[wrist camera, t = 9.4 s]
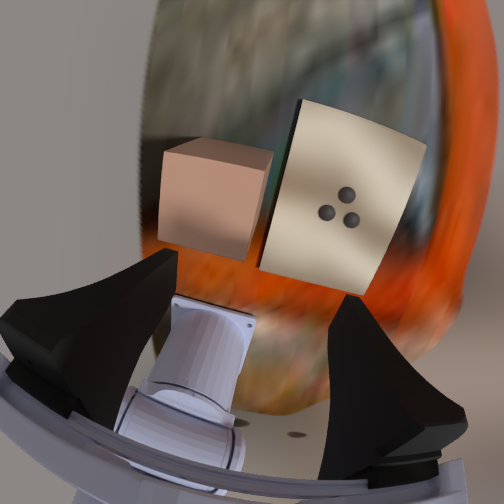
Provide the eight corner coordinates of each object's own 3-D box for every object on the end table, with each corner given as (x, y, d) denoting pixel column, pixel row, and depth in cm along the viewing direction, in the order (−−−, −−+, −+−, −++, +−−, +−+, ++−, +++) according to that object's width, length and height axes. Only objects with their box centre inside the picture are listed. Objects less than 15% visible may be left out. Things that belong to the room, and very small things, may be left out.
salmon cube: (258, 218, 20) (244, 262, 15) (192, 202, 20) (157, 239, 15) (274, 151, 17) (264, 171, 12) (202, 136, 17) (164, 151, 12)
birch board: (362, 293, 22) (363, 296, 21) (259, 267, 22) (258, 270, 22) (425, 144, 15) (427, 145, 15) (302, 99, 15) (302, 99, 15)
